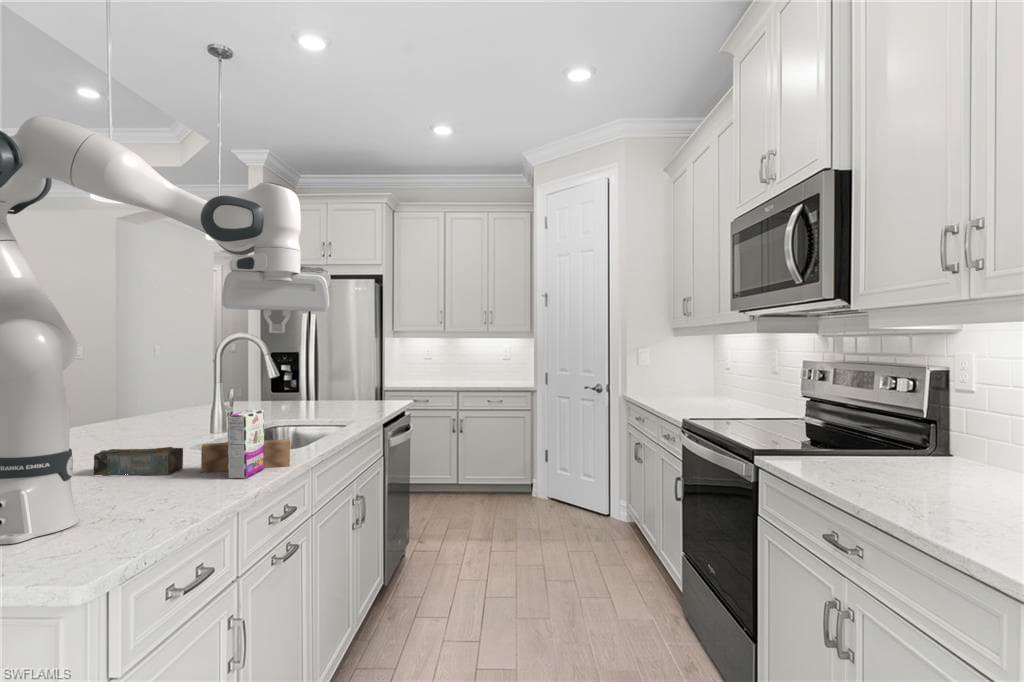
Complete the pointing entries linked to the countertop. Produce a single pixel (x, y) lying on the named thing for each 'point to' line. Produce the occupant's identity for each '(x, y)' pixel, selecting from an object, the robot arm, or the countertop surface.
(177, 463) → the beverage carton
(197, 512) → the countertop surface
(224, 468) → the wooden block
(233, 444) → the candy bar box
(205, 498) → the countertop surface
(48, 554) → the countertop surface
